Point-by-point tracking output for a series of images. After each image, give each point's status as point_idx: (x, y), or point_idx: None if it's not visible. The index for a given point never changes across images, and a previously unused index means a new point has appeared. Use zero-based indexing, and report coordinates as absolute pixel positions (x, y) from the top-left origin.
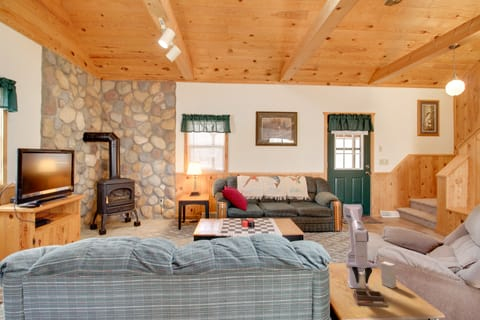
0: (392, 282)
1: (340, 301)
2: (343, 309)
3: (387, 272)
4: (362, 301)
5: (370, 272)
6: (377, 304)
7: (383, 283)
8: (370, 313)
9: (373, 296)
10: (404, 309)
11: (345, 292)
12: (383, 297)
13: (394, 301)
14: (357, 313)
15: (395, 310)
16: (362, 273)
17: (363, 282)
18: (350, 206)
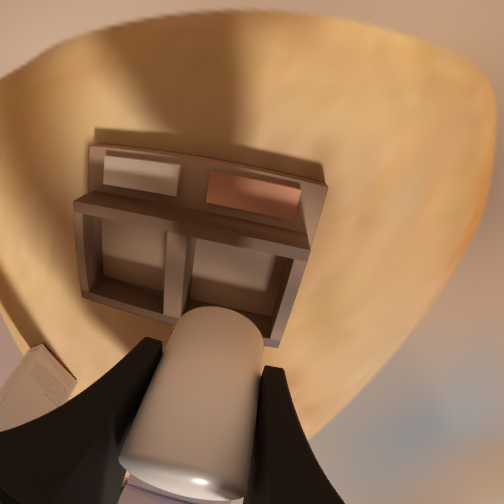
0: (26, 362)
1: (423, 252)
2: (461, 137)
3: (20, 409)
4: (275, 193)
5: (10, 446)
6: (155, 152)
7: (68, 380)
8: (280, 37)
9: (148, 223)
10: (27, 119)
11: (311, 361)
12: (76, 201)
13: (43, 218)
14: (389, 56)
15: (72, 95)
16: (165, 479)
17: (198, 353)
18: None
